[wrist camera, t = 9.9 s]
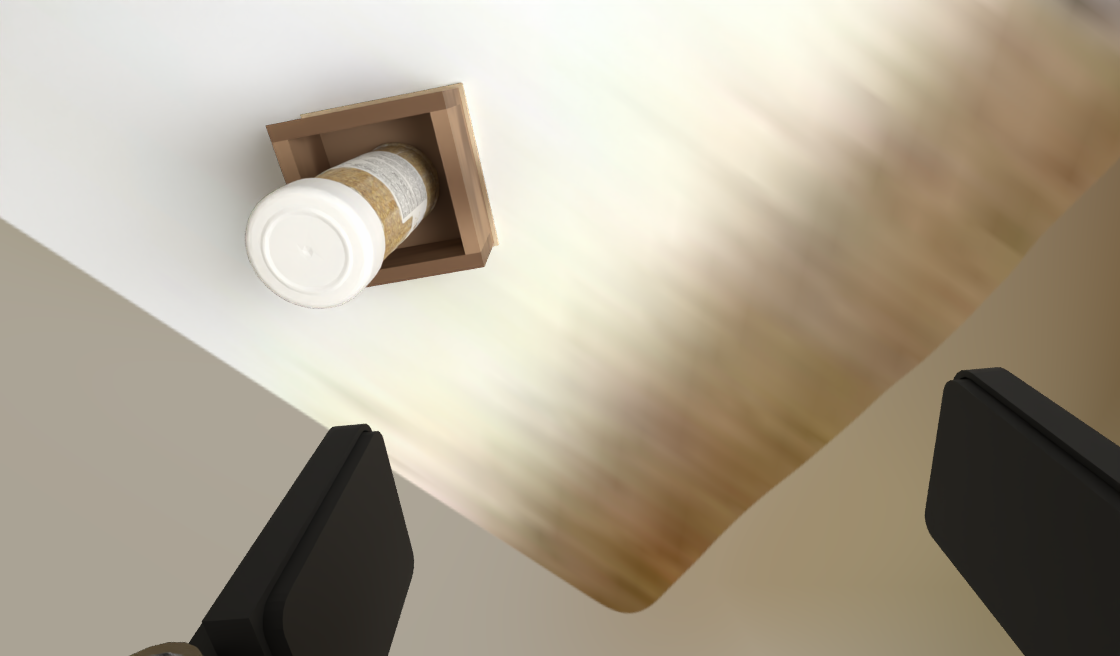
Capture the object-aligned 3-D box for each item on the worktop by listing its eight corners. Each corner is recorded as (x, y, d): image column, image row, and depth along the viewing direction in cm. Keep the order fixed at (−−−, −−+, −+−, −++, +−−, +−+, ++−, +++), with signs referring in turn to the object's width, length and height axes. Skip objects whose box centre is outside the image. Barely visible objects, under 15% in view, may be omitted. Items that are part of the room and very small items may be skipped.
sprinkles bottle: (387, 236, 35) (290, 331, 23) (343, 162, 33) (212, 222, 21) (457, 201, 34) (396, 281, 22) (415, 124, 32) (322, 163, 20)
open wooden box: (302, 114, 33) (260, 122, 29) (462, 82, 33) (445, 85, 28) (353, 269, 37) (322, 298, 32) (498, 243, 36) (488, 269, 31)
